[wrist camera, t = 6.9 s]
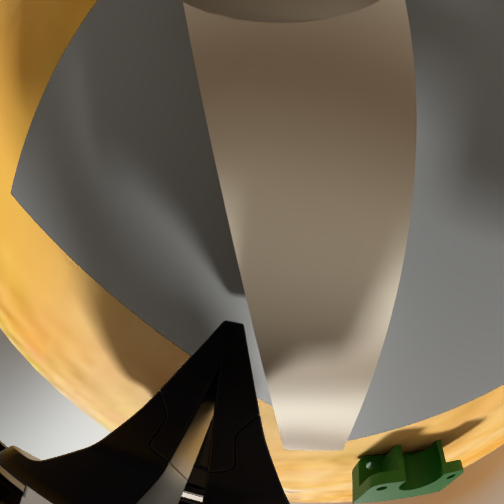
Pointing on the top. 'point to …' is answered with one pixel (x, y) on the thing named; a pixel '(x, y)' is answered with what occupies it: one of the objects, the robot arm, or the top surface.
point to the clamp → (403, 474)
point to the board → (214, 213)
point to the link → (312, 188)
